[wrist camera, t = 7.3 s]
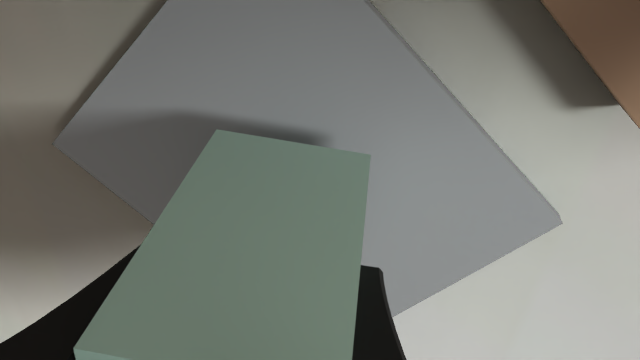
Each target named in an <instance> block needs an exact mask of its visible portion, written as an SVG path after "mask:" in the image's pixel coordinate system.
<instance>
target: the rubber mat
mask: <svg viewBox="0 0 640 360" xmlns="http://www.w3.org/2000/svg"><path fill="white" fill-rule="evenodd" d="M216 129H218V130H224V131H230V132H236V133H242V134H248V135H254V136H260V137H266V138H273V139H279V140H285V141H291V142H297V143H303V144H309V145H315V146H321V147H327V148H333V149H339V150H345V151H351V152H357V153H364V154H370V155H371V159H370V169H369V180H368V191H367V202H366V213H365V224H364V235H363V245H362V256H361V265H364V266H371V267H378V268H380V269H381V270H382V272H383V277H384V285H385V290H386V295H387V300H388V304H389V308H390V312H391V315H392V317H394V316H396V315H397V314H399V313H401V312H403V311H405V310H407V309H408V308H410V307H412V306H414V305H416V304H417V303H419V302H421V301H423V300H425V299H427V298H428V297H430V296H432V295H434V294H436V293H437V292H439V291H441V290H443V289H445V288H447V287H448V286H450V285H452V284H454V283H456V282H457V281H459V280H461V279H463V278H465V277H466V276H468V275H470V274H472V273H474V272H476V271H477V270H479V269H481V268H483V267H485V266H486V265H488V264H490V263H492V262H494V261H496V260H497V259H499V258H501V257H503V256H505V255H506V254H508V253H510V252H512V251H514V250H515V249H517V248H519V247H521V246H523V245H525V244H526V243H528V242H530V241H532V240H534V239H535V238H537V237H539V236H541V235H543V234H545V233H546V232H548V231H550V230H552V229H554V228H555V227H557V226H559V225H561V224H563V223H562V221H561V218H560V216H559V214H558V212H557V211H556V210H555V209H554V208H553V207H552V206H551V205H550V203H549V202H548V201H547V200H546V199H545V198H544V197H543V196H542V194H541V193H540V192H539V191H538V190H537V189H536V188H535V187H534V185H533V184H532V183H531V182H530V181H529V180H528V179H527V178H526V176H525V175H524V174H523V173H522V172H521V171H520V170H519V169H518V167H517V166H516V165H515V164H514V163H513V162H512V161H511V160H510V158H509V157H508V156H507V155H506V154H505V153H504V152H503V151H502V149H501V148H500V147H499V146H498V145H497V144H496V143H495V142H494V140H493V139H492V138H491V137H490V136H489V135H488V134H487V133H486V131H485V130H484V129H483V128H482V127H481V126H480V125H479V124H478V122H477V121H476V120H475V119H474V118H473V117H472V116H471V115H470V113H469V112H468V111H467V110H466V109H465V108H464V107H463V106H462V104H461V103H460V102H459V101H458V100H457V99H456V98H455V97H454V95H453V94H452V93H451V92H450V91H449V90H448V89H447V88H446V86H445V85H444V84H443V83H442V82H441V81H440V80H439V79H438V77H437V76H436V75H435V74H434V73H433V72H432V71H431V70H430V68H429V67H428V66H427V65H426V64H425V63H424V62H423V61H422V59H421V58H420V57H419V56H418V55H417V54H416V53H415V52H414V50H413V49H412V48H411V47H410V46H409V45H408V44H407V43H406V41H405V40H404V39H403V38H402V37H401V36H400V35H399V34H398V32H397V31H396V30H395V29H394V28H393V27H392V26H391V25H390V23H389V22H388V21H387V20H386V19H385V18H384V17H383V16H382V14H381V13H380V12H379V11H378V10H377V9H376V8H375V7H374V5H373V4H372V3H371V2H370V1H369V0H167V2H166V3H165V4H164V5H163V7H162V8H161V9H160V10H159V12H158V13H157V14H156V15H155V16H154V18H153V19H152V20H151V21H150V23H149V24H148V25H147V26H146V28H145V29H144V30H143V31H142V33H141V34H140V35H139V36H138V38H137V39H136V40H135V41H134V43H133V44H132V45H131V46H130V48H129V49H128V50H127V51H126V52H125V54H124V55H123V56H122V57H121V59H120V60H119V61H118V62H117V64H116V65H115V66H114V67H113V69H112V70H111V71H110V72H109V74H108V75H107V76H106V77H105V79H104V80H103V81H102V82H101V83H100V85H99V86H98V87H97V88H96V90H95V91H94V92H93V93H92V95H91V96H90V97H89V98H88V100H87V101H86V102H85V103H84V105H83V106H82V107H81V108H80V110H79V111H78V112H77V113H76V114H75V116H74V117H73V118H72V119H71V121H70V122H69V123H68V124H67V126H66V127H65V128H64V129H63V131H62V132H61V133H60V134H59V136H58V137H57V138H56V139H55V141H54V142H53V143H52V144H53V145H54V146H55V147H56V148H58V149H59V150H60V151H61V152H63V153H64V154H65V155H67V156H68V157H69V158H70V159H72V160H73V161H74V162H75V163H77V164H78V165H79V166H80V167H82V168H83V169H84V170H85V171H87V172H88V173H89V174H91V175H92V176H93V177H94V178H96V179H97V180H98V181H99V182H101V183H102V184H103V185H104V186H106V187H107V188H108V189H110V190H111V191H112V192H113V193H115V194H116V195H117V196H118V197H120V198H121V199H122V200H123V201H125V202H126V203H127V204H128V205H130V206H131V207H132V208H134V209H135V210H136V211H137V212H139V213H140V214H141V215H142V216H144V217H145V218H146V219H147V220H149V221H150V222H151V223H153V224H155V223H156V221H157V220H158V218H159V217H160V215H161V214H162V212H163V210H164V209H165V207H166V206H167V204H168V203H169V201H170V200H171V198H172V197H173V195H174V194H175V192H176V191H177V189H178V188H179V186H180V184H181V183H182V181H183V180H184V178H185V177H186V175H187V174H188V172H189V171H190V169H191V168H192V166H193V165H194V163H195V162H196V160H197V158H198V157H199V155H200V154H201V152H202V151H203V149H204V148H205V146H206V145H207V143H208V142H209V140H210V139H211V137H212V136H213V134H214V132H215V131H216Z"/></svg>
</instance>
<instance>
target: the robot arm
mask: <svg viewBox="0 0 640 360" xmlns="http://www.w3.org/2000/svg"><path fill="white" fill-rule="evenodd" d="M140 246H141V245H140ZM140 246H138V247H137V248H136V249H135V250H133V251H132V252H131V253H129V254H128V255H127V256H126V257H124V258H123V259H122V260H120V261H119V262H118V263H117V264H115V265H114V266H113V267H111V268H110V269H109V270H108V271H106V272H105V273H104V274H102V275H101V276H100V277H98V278H97V279H96V280H94V281H93V282H92V283H90V284H89V285H88V286H86V287H85V288H84V289H82V290H81V291H80V292H78V293H77V294H75V295H74V296H73V297H71V298H70V299H68V300H67V301H65V302H64V303H63V304H61V305H60V306H58V307H57V308H55V309H54V310H52V311H51V312H49V313H48V314H47V315H45V316H44V317H42V318H41V319H39V320H38V321H36V322H35V323H33V324H32V325H30V326H28V327H27V328H25V329H24V330H22V331H20V332H19V333H17V334H16V335H14V336H12V337H11V338H9V339H7V340H5V341H4V342H2V343H0V360H76V358H75V354H74V349H73V348H74V347H75V345H76V344H77V342H78V340H79V339H80V337H81V336H82V334H83V333H84V331H85V330H86V328H87V327H88V325H89V324H90V322H91V321H92V319H93V318H94V316H95V314H96V313H97V311H98V310H99V308H100V307H101V305H102V304H103V302H104V301H105V299H106V298H107V296H108V295H109V293H110V292H111V290H112V288H113V287H114V285H115V284H116V282H117V281H118V279H119V278H120V276H121V275H122V273H123V272H124V270H125V269H126V267H127V266H128V264H129V262H130V261H131V259H132V258H133V256H134V255H135V253H136V252H137V250H138V249H139V247H140ZM352 360H406V358H405V355H404V352H403V349H402V346H401V343H400V341H399V338H398V335H397V332H396V329H395V326H394V322H393V319H392V315H391V312H390V308H389V304H388V300H387V295H386V290H385V285H384V277H383V272H382V270H381V269H380V268H378V267H371V266H364V265H361V267H360V278H359V289H358V300H357V311H356V321H355V332H354V343H353V354H352Z"/></svg>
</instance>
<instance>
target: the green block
mask: <svg viewBox="0 0 640 360" xmlns="http://www.w3.org/2000/svg"><path fill="white" fill-rule="evenodd" d="M370 159H371V155H370V154H364V153H357V152H351V151H345V150H339V149H333V148H327V147H321V146H315V145H309V144H303V143H297V142H291V141H285V140H279V139H273V138H266V137H260V136H254V135H248V134H242V133H236V132H230V131H224V130H218V129H216V131H215V132H214V134H213V136H212V137H211V139H210V140H209V142H208V143H207V145H206V146H205V148H204V149H203V151H202V152H201V154H200V155H199V157H198V158H197V160H196V162H195V163H194V165H193V166H192V168H191V169H190V171H189V172H188V174H187V175H186V177H185V178H184V180H183V181H182V183H181V184H180V186H179V188H178V189H177V191H176V192H175V194H174V195H173V197H172V198H171V200H170V201H169V203H168V204H167V206H166V207H165V209H164V210H163V212H162V214H161V215H160V217H159V218H158V220H157V221H156V223H155V224H154V226H153V227H152V229H151V230H150V232H149V233H148V235H147V236H146V238H145V240H144V241H143V243H142V244H141V246H140V247H139V249H138V250H137V252H136V253H135V255H134V256H133V258H132V259H131V261H130V262H129V264H128V266H127V267H126V269H125V270H124V272H123V273H122V275H121V276H120V278H119V279H118V281H117V282H116V284H115V285H114V287H113V288H112V290H111V292H110V293H109V295H108V296H107V298H106V299H105V301H104V302H103V304H102V305H101V307H100V308H99V310H98V311H97V313H96V314H95V316H94V318H93V319H92V321H91V322H90V324H89V325H88V327H87V328H86V330H85V331H84V333H83V334H82V336H81V337H80V339H79V340H78V342H77V344H76V345H75V347H74V348H73V349H74V354H75V358H76V360H352V354H353V343H354V332H355V321H356V311H357V300H358V289H359V278H360V267H361V256H362V245H363V235H364V224H365V213H366V202H367V191H368V180H369V169H370Z"/></svg>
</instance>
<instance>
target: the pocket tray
mask: <svg viewBox="0 0 640 360" xmlns="http://www.w3.org/2000/svg"><path fill="white" fill-rule="evenodd" d="M540 1H541V2H542V3H543V5H544V6H545V7H546V9H547V10H548V11H549V13H550V14H551V15H552V17H553V18H554V19H555V20H556V22H557V23H558V24H559V26H560V27H561V28H562V30H563V31H564V32H565V34H566V35H567V36H568V38H569V39H570V40H571V42H572V43H573V44H574V45H575V47H576V48H577V49H578V51H579V52H580V53H581V55H582V56H583V57H584V59H585V60H586V61H587V63H588V64H589V65H590V67H591V68H592V69H593V70H594V72H595V73H596V74H597V76H598V77H599V78H600V80H601V81H602V82H603V84H604V85H605V86H606V88H607V89H608V90H609V92H610V93H611V94H612V95H613V97H614V98H615V99H616V101H617V102H618V103H619V105H620V106H621V107H622V108H623V110H624V111H625V112H626V113H627V114H628V115H629V117H630V118H631V119H632V120H633V121H634V123H635V124H636V125H637V126H638V127H639V128H640V0H540Z"/></svg>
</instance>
